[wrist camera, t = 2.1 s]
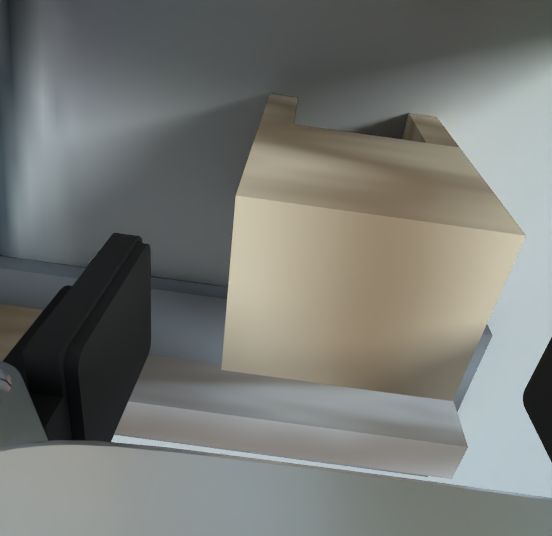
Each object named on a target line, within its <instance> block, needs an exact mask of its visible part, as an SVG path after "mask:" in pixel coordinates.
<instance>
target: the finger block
mask: <svg viewBox="0 0 552 536" xmlns="http://www.w3.org/2000/svg"><path fill="white" fill-rule="evenodd" d="M296 105H297V97H290V96H282V95H275V94H269V97H268V100H267V103H266V106H265V109H264V112H263V115H262V118H261V121H260V124H259V127H258V130H257V133H256V136H255V139H254V142H253V145H252V148H251V151H250V154H249V157H248V160H247V163H246V166H245V169H244V172H243V175H242V178H241V181H240V184H239V187H238V190H237V193H236V198H235V210H234V222H233V234H232V246H231V258H230V271H229V283H228V295H227V307H226V319H225V331H224V344H223V356H222V368H221V370H226V371H233V372H240V373H246V374H254V375H261V376H268V377H276V378H283V379H290V380H298V381H305V382H313V383H320V384H327V385H335V386H342V387H349V388H357V389H364V390H372V391H379V392H386V393H394V394H401V395H408V396H416V397H423V398H432V399H439V400H447V401H453V399H454V397H455V394H456V392H457V390H458V388H459V385H460V383H461V381H462V379H463V376H464V374H465V372H466V370H467V367H468V365H469V363H470V361H471V358H472V356H473V354H474V352H475V349H476V347H477V345H478V343H479V340H480V338H481V336H482V334H483V332H484V329H485V327H486V325H487V323H488V320H489V318H490V316H491V314H492V311H493V309H494V307H495V305H496V302H497V300H498V298H499V296H500V293H501V291H502V289H503V287H504V284H505V282H506V280H507V278H508V275H509V273H510V271H511V269H512V266H513V264H514V262H515V260H516V257H517V255H518V253H519V251H520V248H521V246H522V244H523V242H524V239H525V237H526V235H525V234H524V232H523V231H522V230H521V228H520V227H519V226H518V224H517V223H516V222H515V220H514V219H513V218H512V216H511V215H510V214H509V212H508V211H507V210H506V208H505V207H504V206H503V204H502V203H501V202H500V200H499V199H498V198H497V196H496V195H495V194H494V192H493V191H492V190H491V189H490V187H489V186H488V185H487V183H486V182H485V181H484V179H483V178H482V177H481V175H480V174H479V173H478V171H477V170H476V169H475V167H474V166H473V165H472V163H471V162H470V161H469V159H468V158H467V157H466V155H465V154H464V153H463V151H462V150H461V149H460V147H459V146H458V145H457V143H456V142H455V141H454V140H453V138H452V137H451V136H450V134H449V133H448V132H447V130H446V129H445V128H444V126H443V125H442V124H441V122H440V121H439V120H438V118H437V117H433V116H426V115H418V114H411V113H409V114H408V118H407V122H406V126H405V130H404V133H403V137H402V139H395V138H388V137H381V136H374V135H366V134H359V133H352V132H345V131H338V130H330V129H323V128H316V127H309V126H302V125H295V124H294V121H295V113H296Z"/></svg>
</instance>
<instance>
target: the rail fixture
mask: <svg viewBox="0 0 552 536" xmlns="http://www.w3.org/2000/svg"><path fill="white" fill-rule="evenodd" d="M85 269H86V268H84V267H76V266H69V265H62V264H54V263H47V262H40V261H33V260H25V259H18V258H11V257H3V256H0V361H1V362H2V361H3V360H4V359H5V357H6V356H7V355H8V354H9V352H10V351H11V350H12V349H13V347H14V346H15V345H16V344H17V342H18V341H19V340H20V339H21V337H22V336H23V335H24V334H25V333H26V331H27V330H28V329H29V328H30V326H31V325H32V324H33V323H34V321H35V320H36V319H37V318H38V316H39V315H40V314H41V313H42V311H43V310H44V309H45V308H46V307H47V305H48V304H49V303H50V302H51V300H52V299H53V298H54V297H55V295H56V294H57V293H58V292H59V290H60V289H61V288H63V287H64V286H67V285H70V286H73V284H74V283H75V282H76V281H77V279H78V278H79V277H80V275H81V274H82V273H83V272H84V270H85ZM227 295H228V287H223V286H215V285H208V284H201V283H193V282H186V281H179V280H171V279H164V278H157V277H151V346H150V351H149V355H148V357H147V359H146V362H145V364H144V366H143V369H142V371H141V373H140V376H139V378H138V380H137V383H136V385H135V387H134V389H133V392H132V394H131V396H130V399H129V401H128V403H127V406H126V408H125V410H124V412H123V415H122V417H121V419H120V422H119V424H118V426H117V429H116V431H115V433H114V435H121V436H128V437H136V438H143V439H150V440H158V441H165V442H173V443H180V444H188V445H195V446H202V447H210V448H217V449H225V450H232V451H240V452H247V453H255V454H262V455H269V456H277V457H284V458H292V459H299V460H307V461H314V462H321V463H329V464H336V465H344V466H351V467H359V468H366V469H373V470H381V471H388V472H396V473H403V474H411V475H418V476H425V477H428V476H433V477H440V478H448V479H452V478H453V476H454V474H455V472H456V470H457V468H458V466H459V464H460V462H461V460H462V458H463V456H464V454H465V452H466V450H467V448H468V446H467V443H466V440H465V436H464V433H463V430H462V427H461V424H460V420H459V417H458V414H457V411H458V409H459V407H460V405H461V403H462V400H463V398H464V396H465V394H466V392H467V390H468V387H469V385H470V383H471V381H472V379H473V376H474V374H475V372H476V370H477V368H478V366H479V363H480V361H481V359H482V357H483V355H484V353H485V350H486V348H487V346H488V344H489V342H490V339H491V337H492V334H491V331H490V329H489V327H488V325H486V327H485V329H484V332H483V334H482V336H481V338H480V340H479V343H478V345H477V347H476V349H475V352H474V354H473V356H472V358H471V361H470V363H469V365H468V367H467V370H466V372H465V374H464V376H463V379H462V381H461V383H460V385H459V388H458V390H457V392H456V394H455V397H454V399H453V401H447V400H439V399H432V398H423V397H416V396H408V395H401V394H394V393H386V392H379V391H372V390H364V389H357V388H349V387H342V386H335V385H327V384H320V383H313V382H305V381H298V380H290V379H283V378H276V377H268V376H261V375H254V374H246V373H240V372H233V371H226V370H221V368H222V356H223V344H224V331H225V319H226V307H227Z"/></svg>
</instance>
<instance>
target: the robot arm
mask: <svg viewBox="0 0 552 536" xmlns="http://www.w3.org/2000/svg"><path fill="white" fill-rule="evenodd" d="M150 346H151V257H150V245H149V244H144V243H142V238H141V237H140V236H134V235H126V234H119V233H114V234H112V236H111V237H110V238H109V239H108V241H107V242H106V243H105V245H104V246H103V247H102V248H101V250H100V251H99V252H98V254H97V255H96V256H95V257H94V259H93V260H92V261H91V263H90V264H89V265H88V266H87V268H86V269H85V270H84V272H83V273H82V274H81V275H80V277H79V278H78V279H77V281H76V282H75V283H74V284H73V286H70V285H67V286H64V287H63V288H61V289H60V290H59V292H58V293H57V294H56V295H55V297H54V298H53V299H52V300H51V302H50V303H49V304H48V305H47V307H46V308H45V309H44V310H43V311H42V313H41V314H40V315H39V316H38V318H37V319H36V320H35V321H34V323H33V324H32V325H31V326H30V328H29V329H28V330H27V331H26V333H25V334H24V335H23V336H22V337H21V339H20V340H19V341H18V342H17V344H16V345H15V346H14V347H13V349H12V350H11V351H10V352H9V354H8V355H7V356H6V357H5V359H4V360H3V361H2V362H1V361H0V536H552V498H547V497H540V496H533V495H525V494H518V493H511V492H504V491H496V490H489V489H482V488H474V487H467V486H459V485H452V484H445V483H437V482H430V481H422V480H415V479H407V478H400V477H392V476H385V475H377V474H370V473H362V472H355V471H347V470H340V469H332V468H324V467H316V466H308V465H301V464H293V463H285V462H277V461H270V460H262V459H254V458H246V457H239V456H231V455H223V454H215V453H207V452H199V451H191V450H183V449H175V448H167V447H157V446H146V445H135V444H124V443H114V442H111V440H112V438H113V436H114V433H115V431H116V429H117V426H118V424H119V422H120V419H121V417H122V415H123V412H124V410H125V408H126V406H127V403H128V401H129V399H130V396H131V394H132V392H133V389H134V387H135V385H136V383H137V380H138V378H139V376H140V373H141V371H142V369H143V366H144V364H145V362H146V359H147V357H148V355H149V351H150ZM523 403H524V407H525V409H526V411H527V413H528V415H529V417H530V419H531V421H532V423H533V425H534V427H535V429H536V431H537V433H538V435H539V437H540V439H541V441H542V444H543V446H544V448H545V450H546V452H547V454H548V456H549V458H550V460H551V462H552V338H551V340H550V342H549V344H548V346H547V348H546V349H545V351H544V353H543V355H542V357H541V359H540V361H539V363H538V365H537V367H536V369H535V371H534V373H533V375H532V377H531V379H530V381H529V382H528V384H527V386H526V388H525V391H524V394H523Z"/></svg>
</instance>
